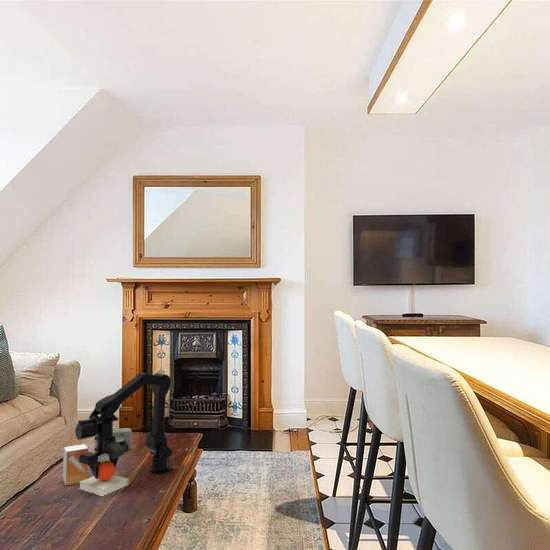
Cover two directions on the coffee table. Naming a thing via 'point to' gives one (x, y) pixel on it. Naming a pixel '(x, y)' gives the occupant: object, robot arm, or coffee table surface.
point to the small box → (74, 464)
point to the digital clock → (121, 436)
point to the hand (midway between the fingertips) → (104, 475)
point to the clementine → (105, 470)
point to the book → (103, 485)
